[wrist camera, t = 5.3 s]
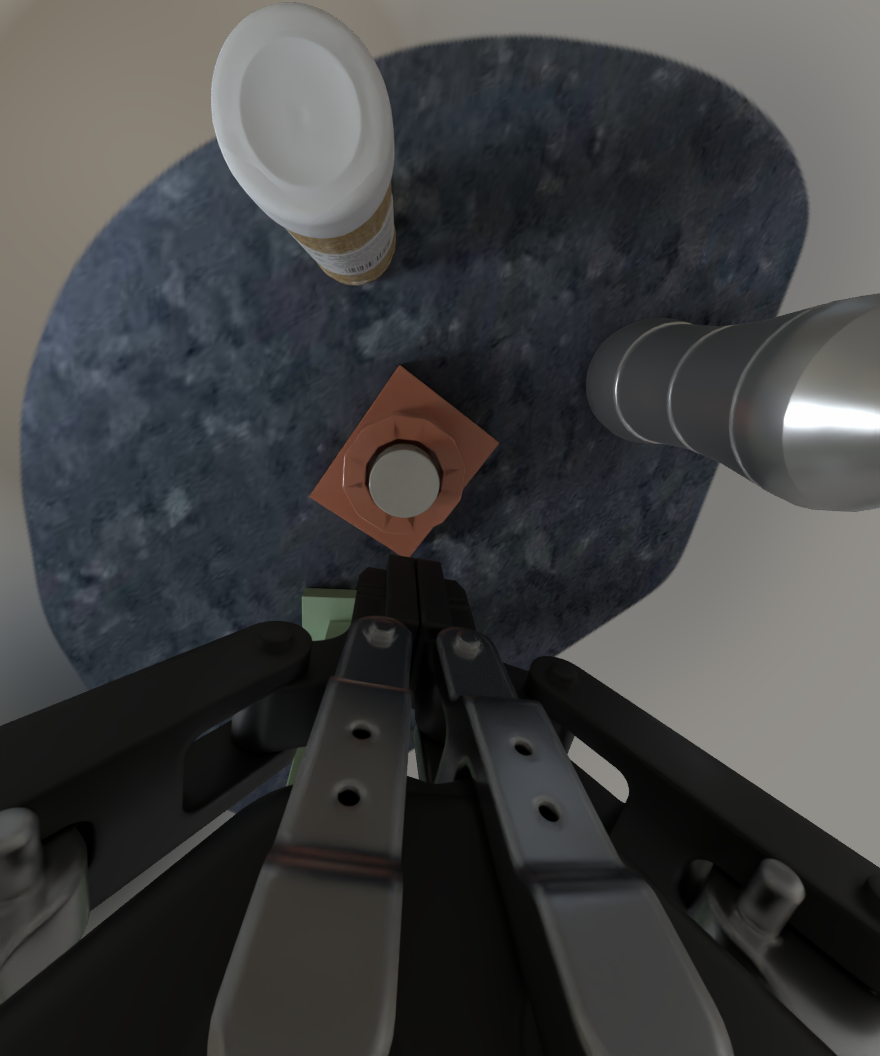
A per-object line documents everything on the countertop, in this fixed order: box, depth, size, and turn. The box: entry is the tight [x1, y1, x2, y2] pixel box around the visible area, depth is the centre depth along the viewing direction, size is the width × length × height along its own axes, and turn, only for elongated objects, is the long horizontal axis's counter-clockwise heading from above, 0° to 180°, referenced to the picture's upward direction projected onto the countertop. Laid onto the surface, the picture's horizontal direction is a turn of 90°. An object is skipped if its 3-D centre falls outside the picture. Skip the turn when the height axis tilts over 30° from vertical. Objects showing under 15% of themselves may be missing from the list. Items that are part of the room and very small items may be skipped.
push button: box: [369, 444, 440, 518], centre depth 24 cm, size 4×4×2 cm
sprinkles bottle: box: [211, 2, 396, 285], centre depth 18 cm, size 5×5×13 cm
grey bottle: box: [586, 294, 880, 512], centre depth 18 cm, size 6×7×20 cm
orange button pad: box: [309, 364, 499, 557], centre depth 26 cm, size 9×7×4 cm
